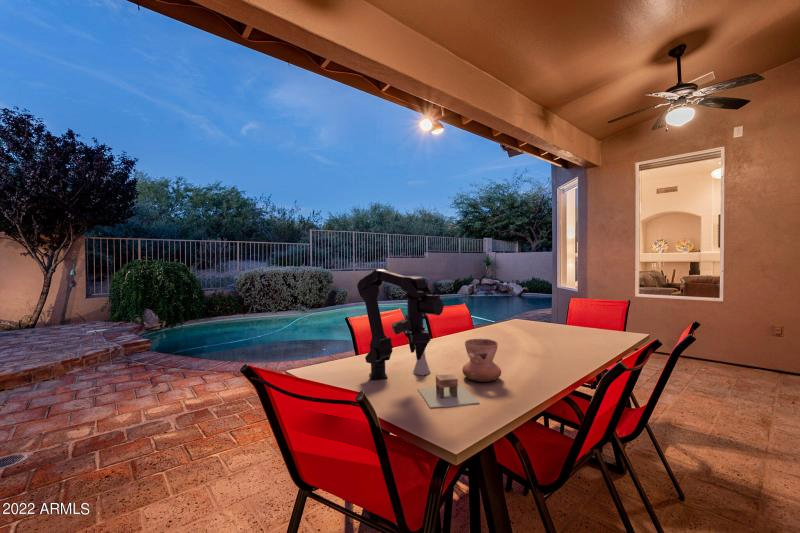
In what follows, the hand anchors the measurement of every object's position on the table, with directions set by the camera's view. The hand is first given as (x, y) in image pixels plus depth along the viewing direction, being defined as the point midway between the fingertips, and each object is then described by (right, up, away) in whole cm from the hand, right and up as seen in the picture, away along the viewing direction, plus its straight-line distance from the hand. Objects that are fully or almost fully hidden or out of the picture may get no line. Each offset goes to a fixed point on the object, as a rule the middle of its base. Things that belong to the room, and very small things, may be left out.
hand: (415, 356), depth 120 cm
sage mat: (+10, -11, -8) cm, 17 cm away
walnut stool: (+10, -11, -8) cm, 17 cm away
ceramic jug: (+26, -11, +10) cm, 30 cm away
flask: (+3, -12, +18) cm, 21 cm away
